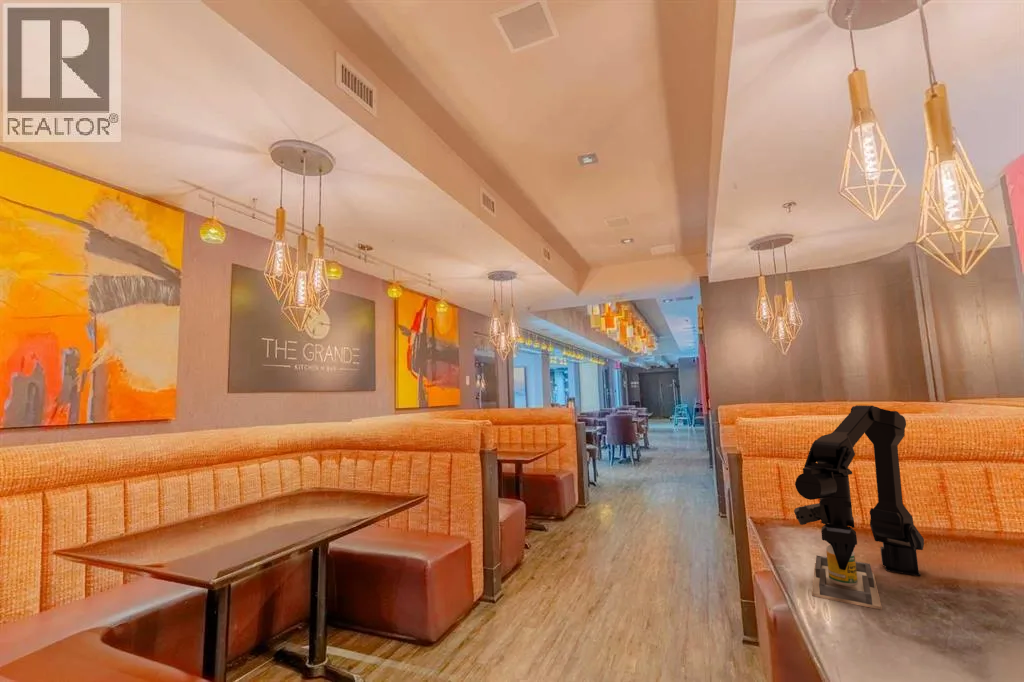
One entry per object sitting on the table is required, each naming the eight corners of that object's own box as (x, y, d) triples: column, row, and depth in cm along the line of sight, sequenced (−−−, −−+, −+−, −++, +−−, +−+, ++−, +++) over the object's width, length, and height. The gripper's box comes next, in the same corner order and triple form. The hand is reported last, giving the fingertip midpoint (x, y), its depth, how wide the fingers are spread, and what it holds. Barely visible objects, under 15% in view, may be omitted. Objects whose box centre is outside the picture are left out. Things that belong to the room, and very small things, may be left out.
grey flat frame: (873, 575, 111) (872, 564, 111) (881, 609, 93) (880, 596, 93) (815, 565, 118) (814, 554, 118) (812, 595, 100) (811, 583, 100)
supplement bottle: (835, 575, 107) (831, 533, 108) (862, 583, 102) (857, 539, 104) (824, 580, 104) (820, 537, 105) (852, 589, 99) (847, 543, 101)
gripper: (797, 485, 118) (802, 548, 116) (792, 498, 103) (798, 571, 101) (850, 489, 111) (857, 556, 109) (853, 504, 96) (861, 582, 94)
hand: (842, 565), depth 104 cm, fingers closed on supplement bottle, 5 cm apart
